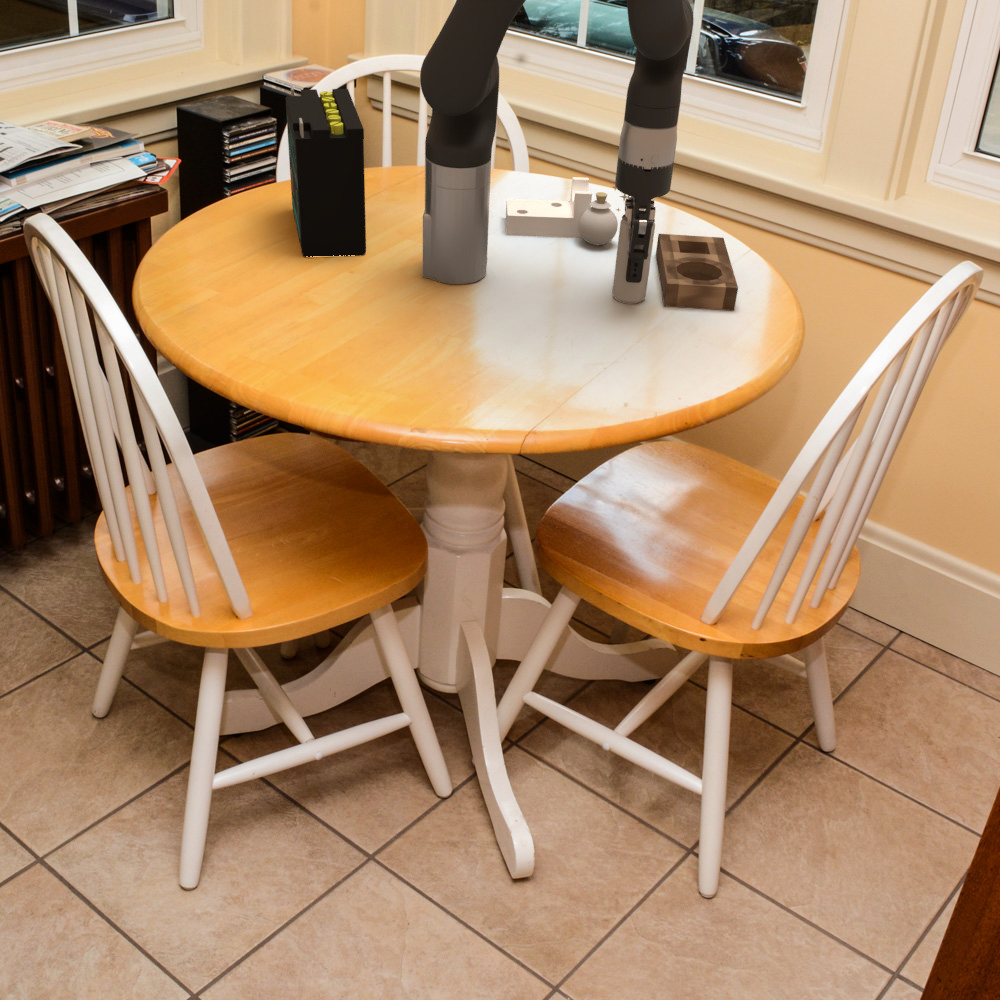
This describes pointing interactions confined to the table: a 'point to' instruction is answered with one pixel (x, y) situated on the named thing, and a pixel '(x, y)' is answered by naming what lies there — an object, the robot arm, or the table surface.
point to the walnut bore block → (695, 272)
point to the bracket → (549, 214)
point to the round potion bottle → (599, 221)
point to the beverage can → (621, 287)
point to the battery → (327, 172)
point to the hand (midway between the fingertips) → (632, 271)
